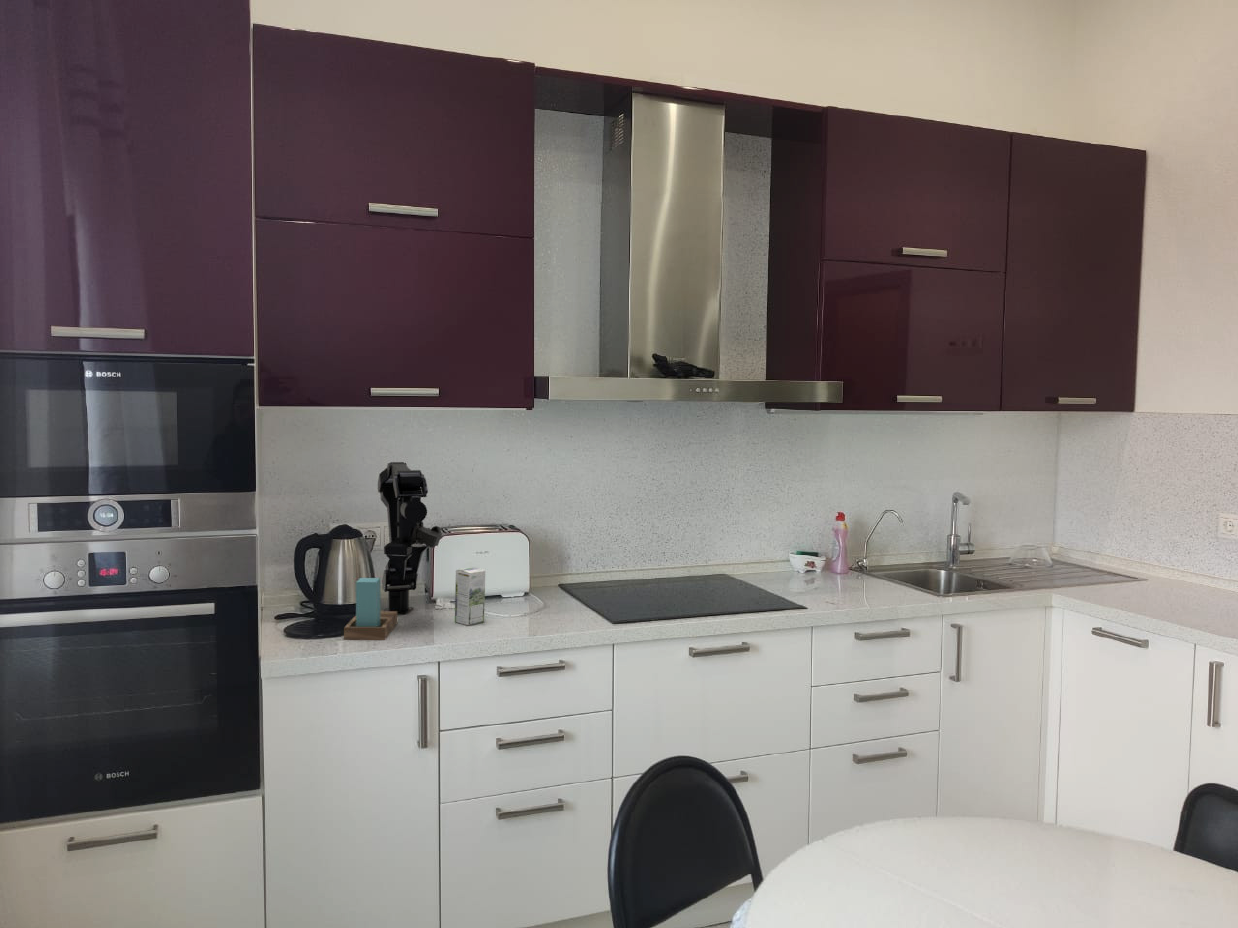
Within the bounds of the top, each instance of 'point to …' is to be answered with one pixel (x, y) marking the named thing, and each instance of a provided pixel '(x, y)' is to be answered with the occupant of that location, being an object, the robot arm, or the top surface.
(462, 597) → the syrup box
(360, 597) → the teal peg block
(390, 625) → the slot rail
